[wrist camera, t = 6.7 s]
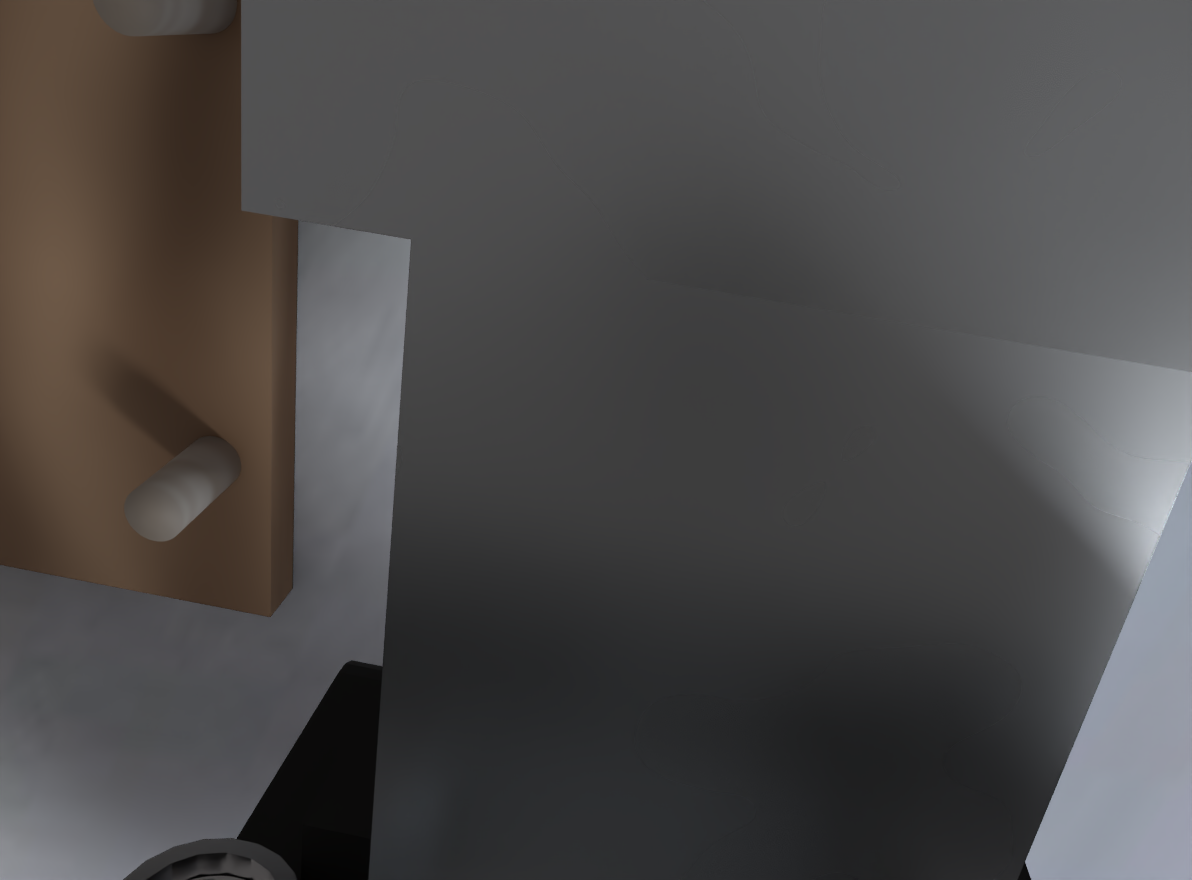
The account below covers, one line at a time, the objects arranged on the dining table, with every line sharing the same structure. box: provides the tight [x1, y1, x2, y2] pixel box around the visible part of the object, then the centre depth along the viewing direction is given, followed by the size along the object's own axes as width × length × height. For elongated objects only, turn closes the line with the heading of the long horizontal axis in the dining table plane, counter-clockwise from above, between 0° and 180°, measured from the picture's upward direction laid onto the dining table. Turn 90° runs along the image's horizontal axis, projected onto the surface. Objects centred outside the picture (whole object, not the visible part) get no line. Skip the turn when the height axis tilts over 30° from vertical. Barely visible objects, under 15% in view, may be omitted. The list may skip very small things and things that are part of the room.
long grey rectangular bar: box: [241, 0, 1192, 880], centre depth 9 cm, size 5×18×5 cm, turn 172°
